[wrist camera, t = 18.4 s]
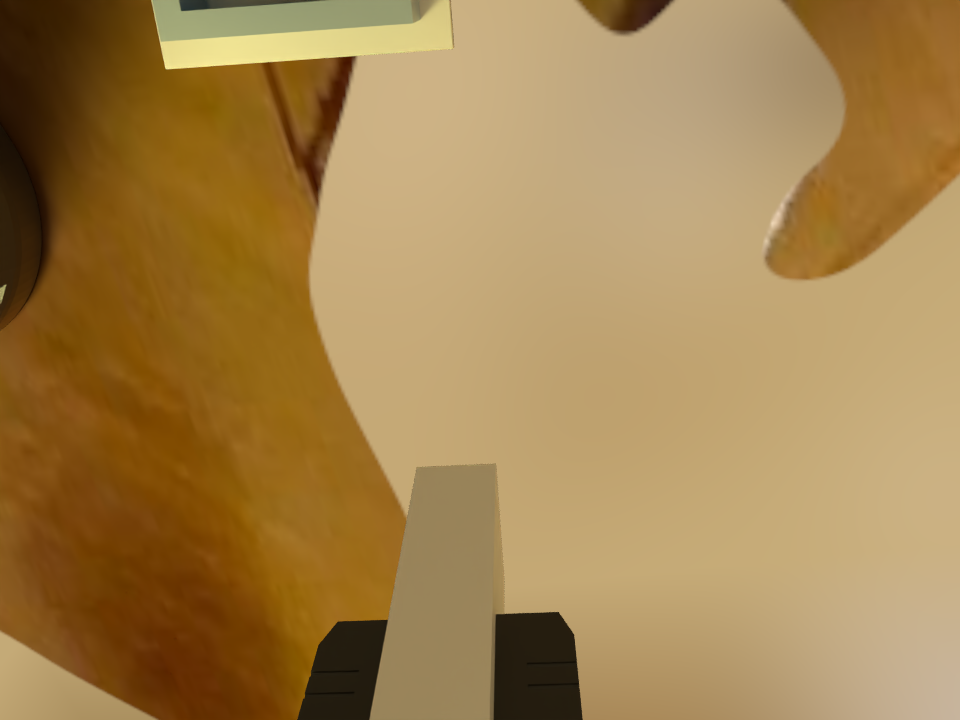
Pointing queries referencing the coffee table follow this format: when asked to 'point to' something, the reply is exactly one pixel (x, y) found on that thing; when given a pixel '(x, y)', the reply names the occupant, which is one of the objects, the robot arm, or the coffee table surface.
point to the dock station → (296, 29)
